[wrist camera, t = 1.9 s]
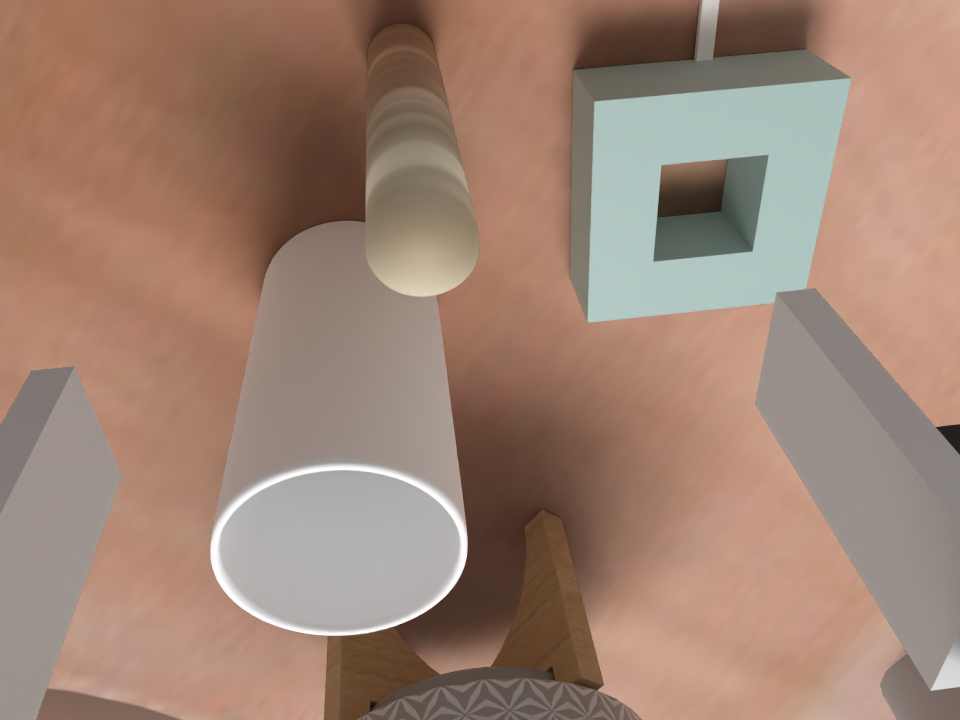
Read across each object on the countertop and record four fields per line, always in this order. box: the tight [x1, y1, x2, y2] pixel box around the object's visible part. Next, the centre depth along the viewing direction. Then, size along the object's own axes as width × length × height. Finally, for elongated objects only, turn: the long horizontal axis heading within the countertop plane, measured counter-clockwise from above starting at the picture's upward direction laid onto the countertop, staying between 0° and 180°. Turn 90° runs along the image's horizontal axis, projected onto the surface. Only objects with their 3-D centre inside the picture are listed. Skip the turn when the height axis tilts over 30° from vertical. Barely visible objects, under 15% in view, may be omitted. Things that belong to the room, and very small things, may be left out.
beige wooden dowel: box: [365, 23, 480, 297], centre depth 26 cm, size 3×3×16 cm
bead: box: [570, 49, 851, 323], centre depth 35 cm, size 10×10×4 cm
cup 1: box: [211, 221, 468, 636], centre depth 32 cm, size 8×8×16 cm
